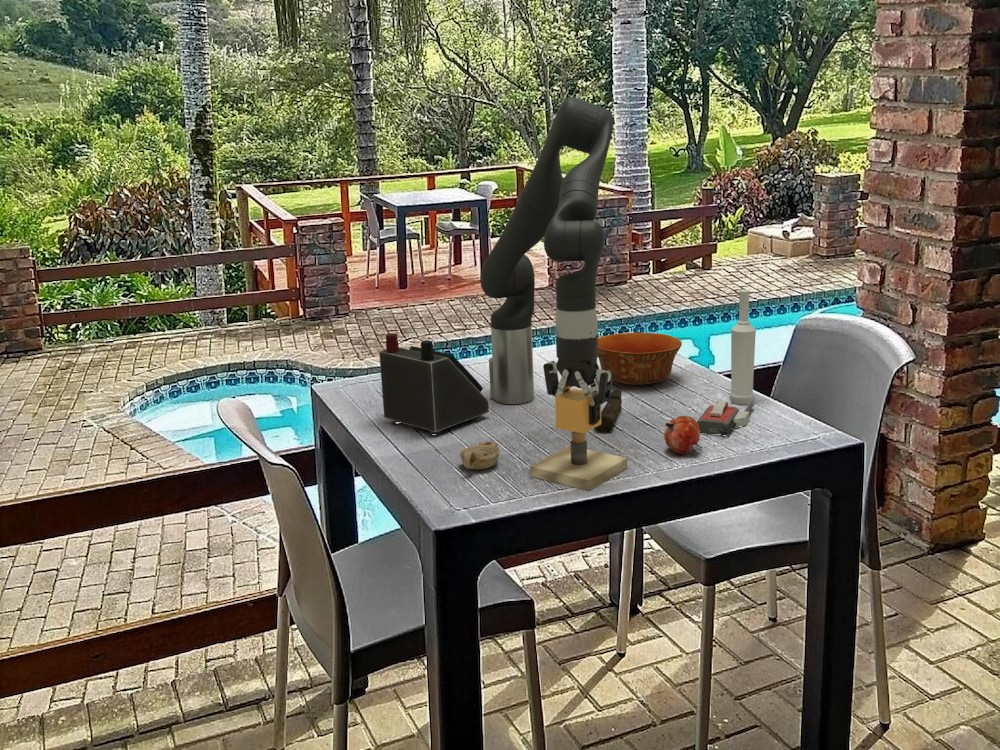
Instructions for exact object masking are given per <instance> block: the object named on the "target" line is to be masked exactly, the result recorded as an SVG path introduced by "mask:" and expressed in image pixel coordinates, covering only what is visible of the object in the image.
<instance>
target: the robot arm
mask: <svg viewBox="0 0 1000 750" xmlns="http://www.w3.org/2000/svg"><path fill="white" fill-rule="evenodd" d="M614 122H615V121H614V115H613V113H612V112H611V111H610V110H608V109H607V108H604V107H602V106H599V105H597V104H594V103H591V102H589V101H585V100H583V99H580V98H577V97H573V96H569V97H566V98H565V99H564V100H563V102H562V103H561V104H560V106H559V108H558V109H557V110H556V114H555V116H554V119H553V121H552V124H551V125H550V129H549V131H548V133H547V137H546V139H545V141H544V144H543V147H542V150H541V151H540V154H539V155H538V158H537V161H536V163H535V166H534V167H533V170H532V171H531V173H530V175H529V177H528V179H527V181H526V183H525V184H524V186H523V189H522V191H521V193H520V195H519V197H518V199H517V201H516V203H515V206H514V207H513V208H514V209H513V211H512V212H511V216H510V217H509V219H508V222H507V223H506V225H505V227H504V229H503V231H502V233H501V235H500V236H499V238H498V239H497V241H496V243H495V245H494V246H493V248H492V249H491V251H490V253H489V254H488V256H486V258H485V260H484V262H483V264H482V267H481V272H480V278H479V279H480V287H481V289H482V291H483V293H484V294H485V295H486V296H487V297H489V298H491V299H505V301H504V302H503V304H502V305H501V306H500V307H499V308H497V309H496V310H495V311H493V312H492V313H491V315H490V333H491V334H490V336H491V357H489V359H488V370H489V371H488V372H489V374H488V375H489V390H490V392H489V393H490V394H489V395H490V399H491V400H494V401H495V402H497V403H499V404H505V405H519V404H525V403H529V402H531V401H533V400H534V399H535V387H534V386H535V385H534V382H535V381H534V379H535V378H534V377H535V376H534V356H533V354H534V353H533V350H534V349H533V331H532V330H533V329H532V327H533V326H532V325H533V324H532V322H533V321H532V318H533V315H534V312H535V292H536V291H535V283H536V282H535V281H536V280H535V279H536V278H535V270H534V266H533V264H532V261H531V260H530V258H529V257H528V256H527V255H526V254H527V253H528V252H529V251H530V250H531V249H532V248H533V247H535V246H536V245H537V244H538V243H539V242H541V241H542V240H543V248H544V251H545V253H546V255H547V256H548V257H549V259H551V260H553V261H555V262H584V266H583V267H582V268H580V269H579V270H577V271H574V272H569V273H565V274H562V275H560V276H558V277H557V278H556V281H555V295H556V296H555V299H556V304H555V305H556V310H555V311H556V313H555V348H556V357H557V358H558V359H557V362H556V361H555V360H551V361H549V362H546V363H544V364H543V367H542V368H543V373H544V374H543V375H544V379H545V386H546V393H547V395H549V396H553V397H554V398H555V397H556V396H558V395H560V394H564V393H565V392H569V391H570V390H571V389H572V388H573V387H574V388H575V387H576V389H580V390H582V392H583V394H584V395H586V397H587V399H588V402H589V404H590V406H589V424H590V425H595V424H597V423H598V421H600V404H601V405H603V404H604V403H607V401H609V400H610V396H611V392H612V388H613V387H612V386H613V371H612V370H608V371H605V370H602V369H601V368H600V366H599V365H598V338H599V334H598V333H599V328H598V327H599V326H598V325H599V323H598V315H597V314H598V313H597V304H596V303H597V302H596V297H597V296H596V287H597V286H596V285H597V276H598V275H597V274H598V268H599V265H600V261H601V257H602V254H603V250H604V246H605V241H606V236H605V230H604V228H603V227H602V225H601V224H600V223H599V222H598V221H596V220H595V218H596V217H597V212H598V203H599V202H598V201H599V199H598V198H599V188H600V181H601V178H602V174H603V171H604V167H605V164H606V160H607V156H608V153H609V148H610V145H611V139H612V136H613V129H614ZM563 147H567V148H569V149H572V150H576V151H578V152H582V153H584V154H588V156H587V157H586V158H585V159H584V160H582V161H581V162H579V163H577V164H576V165H575V166H573V167H572V168H571V169H570V170H569V171H568V172H567V173H566V174H565V175H564V177H563V174H562V168H561V159H560V158H561V157H560V154H561V153H560V152H561V149H562V148H563ZM558 373H559V375H560V377H561V378H560V380H559V375H558ZM596 377H597V379H596ZM598 382H599V383H598ZM589 386H590V387H589Z"/></svg>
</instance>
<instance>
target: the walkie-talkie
mask: <svg viewBox="0 0 1000 750" xmlns="http://www.w3.org/2000/svg"><path fill="white" fill-rule="evenodd" d="M753 407H754V403H753V402H752V403H750V404H748V405H746V408H745V409H744V410H740V408H737V407H736V406H729V403H728V402H727V401H716V402H715V404H713V405H709V406H707V408H706V409H705V410H704V412H703V413H702V414H701V415H700V417H699V418H698V419H697V421H696V422H697V423H698V425H699V429H700V433H704V434H703V435H708V434H721V435H727V434H730V433H731V432H732V431H733V429H734V428H733V427H739V426H743V427H745V426H746V424H747V423H748V422H749V421H750V412H751V411H752V409H753ZM747 421H748V422H747ZM744 425H745V426H744ZM732 428H733V429H732ZM739 428H740V427H739ZM705 433H706V434H705ZM727 436H728V435H727Z"/></svg>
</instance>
